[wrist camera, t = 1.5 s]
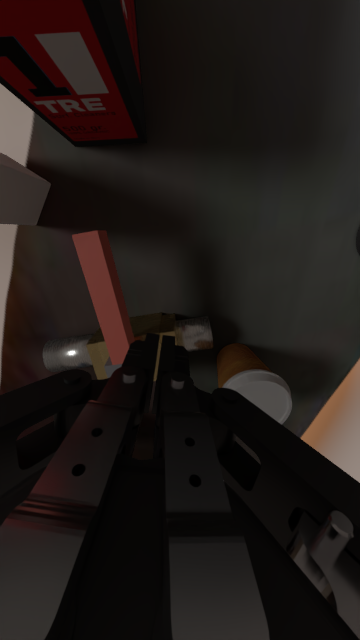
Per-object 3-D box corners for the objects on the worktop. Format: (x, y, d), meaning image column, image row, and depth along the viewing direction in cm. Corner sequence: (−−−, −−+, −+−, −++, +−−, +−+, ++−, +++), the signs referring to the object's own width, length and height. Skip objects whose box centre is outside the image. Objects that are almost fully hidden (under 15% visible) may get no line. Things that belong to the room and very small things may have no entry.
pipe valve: (205, 305, 36) (214, 329, 27) (210, 344, 38) (220, 377, 30) (53, 329, 37) (15, 359, 28) (67, 366, 40) (36, 404, 31)
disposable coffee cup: (264, 333, 38) (301, 375, 27) (259, 380, 41) (290, 436, 30) (207, 335, 38) (219, 378, 27) (207, 383, 41) (218, 439, 30)
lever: (152, 378, 30) (150, 392, 27) (119, 383, 30) (114, 397, 27) (115, 228, 23) (107, 228, 21) (74, 236, 23) (61, 236, 21)
